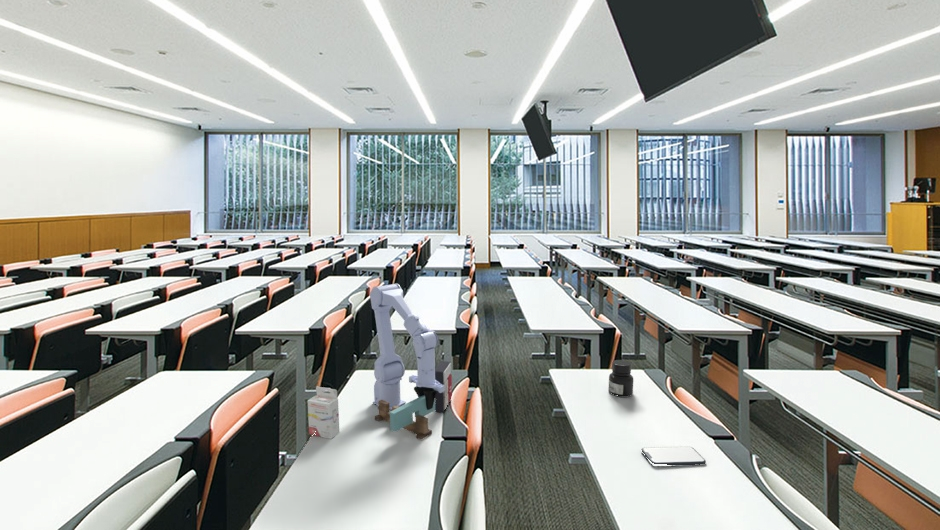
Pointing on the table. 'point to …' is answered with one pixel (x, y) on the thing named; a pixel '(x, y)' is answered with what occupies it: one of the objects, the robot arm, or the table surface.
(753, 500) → the table surface
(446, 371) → the dark grey box
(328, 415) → the ink cartridge box
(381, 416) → the walnut stand
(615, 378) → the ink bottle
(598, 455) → the table surface
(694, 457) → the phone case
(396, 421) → the teal plate
